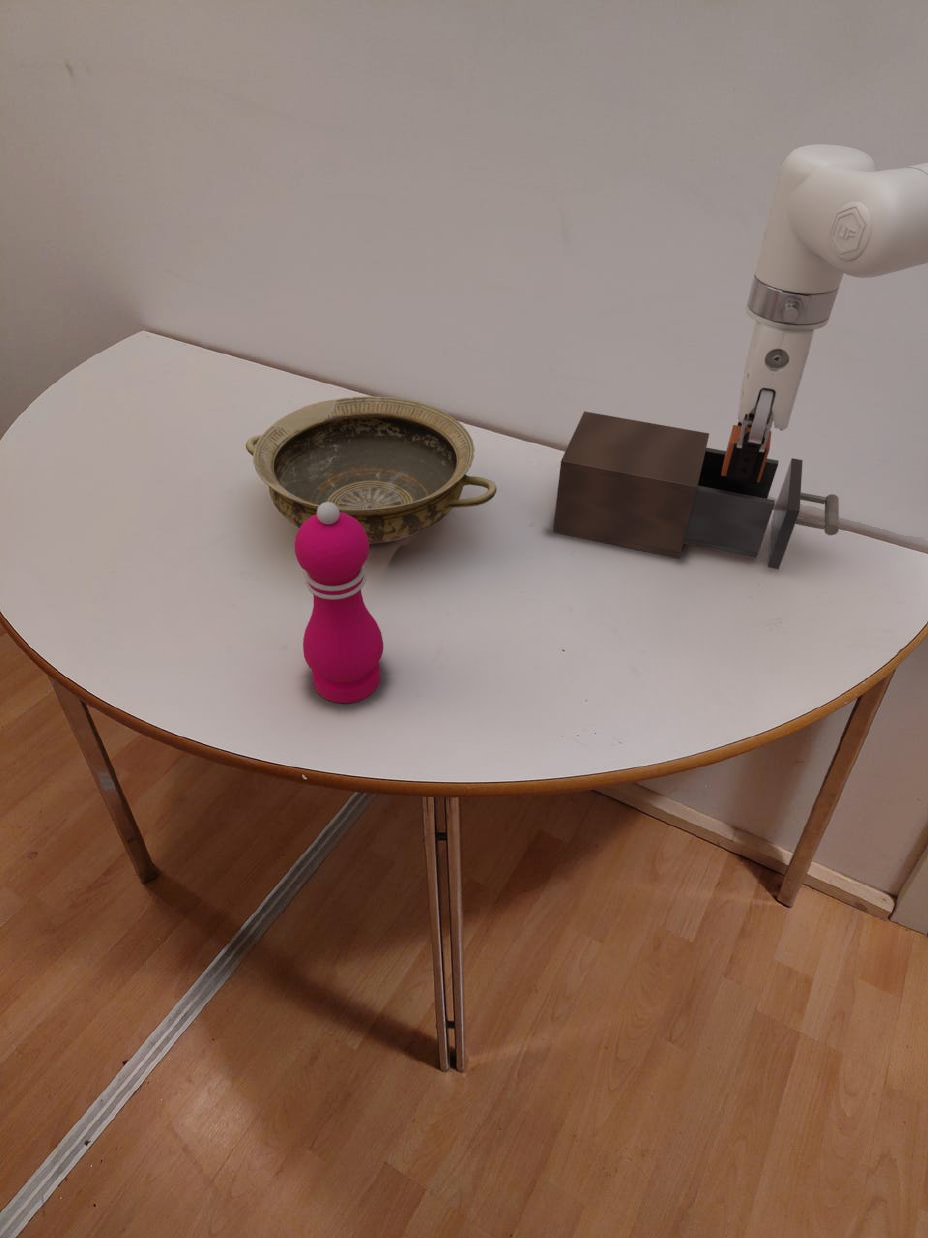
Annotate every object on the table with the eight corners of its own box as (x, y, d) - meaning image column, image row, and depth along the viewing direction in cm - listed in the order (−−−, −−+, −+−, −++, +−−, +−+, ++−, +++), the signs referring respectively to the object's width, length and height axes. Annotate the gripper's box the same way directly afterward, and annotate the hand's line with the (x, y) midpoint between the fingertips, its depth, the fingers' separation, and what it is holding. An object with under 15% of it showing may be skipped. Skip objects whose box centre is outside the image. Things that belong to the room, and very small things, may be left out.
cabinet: (692, 503, 100) (709, 433, 93) (679, 559, 92) (697, 486, 85) (575, 480, 103) (584, 410, 97) (552, 532, 95) (560, 460, 88)
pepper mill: (348, 720, 74) (328, 544, 60) (292, 683, 77) (260, 508, 63) (401, 674, 78) (392, 499, 64) (345, 641, 81) (326, 468, 67)
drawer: (824, 525, 95) (847, 467, 90) (823, 579, 88) (848, 520, 83) (668, 494, 100) (680, 437, 94) (654, 543, 92) (667, 485, 87)
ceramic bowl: (523, 495, 100) (529, 422, 94) (451, 617, 84) (452, 539, 77) (306, 445, 108) (297, 374, 101) (201, 548, 91) (182, 472, 85)
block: (761, 463, 90) (771, 430, 87) (759, 482, 87) (769, 449, 84) (724, 456, 90) (733, 424, 88) (721, 475, 88) (729, 442, 85)
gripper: (833, 341, 69) (774, 518, 82) (833, 273, 81) (781, 437, 94) (742, 328, 71) (698, 503, 83) (755, 263, 83) (715, 426, 95)
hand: (742, 467), depth 88 cm, fingers closed on block, 4 cm apart
